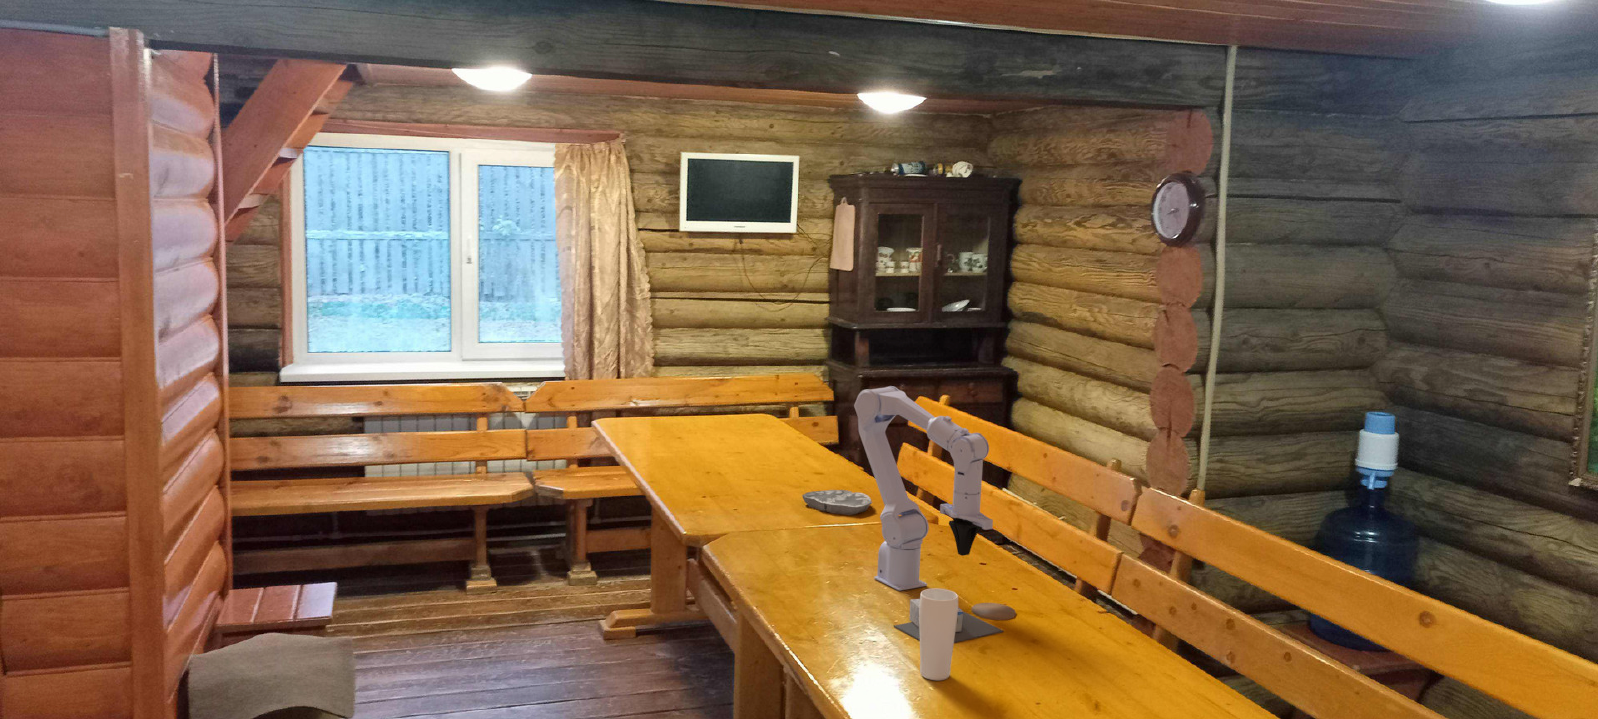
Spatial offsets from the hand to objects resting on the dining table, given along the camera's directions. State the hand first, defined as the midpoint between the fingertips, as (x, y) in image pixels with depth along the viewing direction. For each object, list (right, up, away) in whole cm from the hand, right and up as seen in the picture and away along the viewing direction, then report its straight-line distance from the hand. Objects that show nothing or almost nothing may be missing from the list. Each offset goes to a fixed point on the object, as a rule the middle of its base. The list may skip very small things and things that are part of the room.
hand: (963, 554), depth 240 cm
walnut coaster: (+6, -12, -4) cm, 14 cm away
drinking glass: (-11, -15, -38) cm, 42 cm away
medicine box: (-9, -9, -10) cm, 16 cm away
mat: (-5, -12, -15) cm, 20 cm away
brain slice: (-24, 0, +76) cm, 80 cm away
